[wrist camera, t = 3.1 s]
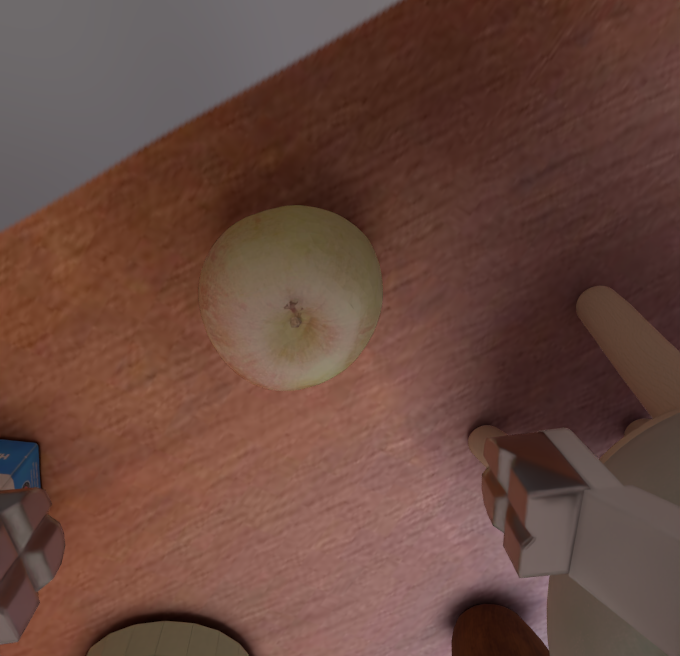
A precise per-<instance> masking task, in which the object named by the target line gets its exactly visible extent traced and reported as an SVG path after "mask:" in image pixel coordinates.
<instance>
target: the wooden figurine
mask: <svg viewBox="0 0 680 656" xmlns="http://www.w3.org/2000/svg"><path fill="white" fill-rule="evenodd" d="M452 656H550V653H549V650H548V649H547V647H546V646H545V645H544V643H543V642H542V640H541V639H540V638H539V637H538V636H537V635H536V634H535V632H534V631H533V630H532V629H531V628H530V627H529V626H528V625H527V624H526V623H525V622H524V621H523V620H522V619H521V618H520V617H519V615H518V614H517V613H515V612H513V611H512V610H510V609H508V608H506V607H503V606H500V605H496V604H481V605H476V606H473V607H472V608H470V609H468V610H466V611H465V612H464V613H463V614H461V615H460V616H459V618H458V620H457V622H456V624H455V627H454V630H453V636H452Z"/></svg>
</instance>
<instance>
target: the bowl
mask: <svg viewBox="0 0 680 656" xmlns="http://www.w3.org/2000/svg"><path fill="white" fill-rule="evenodd" d="M86 656H249V654H248V653H247V652H246V651H245V649H244V648H243V647H242V646H241V645H240V644H239V643H238V642H236V641H235V640H233V639H232V638H230V637H228V636H227V635H225V634H223V633H222V632H220V631H218V630H215V629H212V628H208V627H205V626H202V625H199V624H195V623H186V622H174V621H159V622H151V623H143V624H136V625H132V626H129V627H126V628H124V629H121V630H118V631H115V632H113V633H110V634H108V635H107V636H106V637H104V638H103V639H102V640H100V641H99V642H97V643H96V644H95V645H93V646H92V647H91V648H90V649H89V651H88V653H87V654H86Z"/></svg>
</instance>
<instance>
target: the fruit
mask: <svg viewBox="0 0 680 656" xmlns="http://www.w3.org/2000/svg"><path fill="white" fill-rule="evenodd" d="M198 300H199V306H200V311H201V316H202V320H203V323H204V326H205V329H206V332H207V334H208V336H209V338H210V341H211V343H212V344H213V346H214V348H215V349H216V351H217V352H218V353H219V355H220V356H221V358H222V359H223V361H224V362H225V363H226V364H227V365H228V366H229V367H230V368H231V369H232V370H233V371H234V372H235V373H237V374H238V375H239V376H241V377H242V378H243V379H245V380H247V381H249V382H250V383H252V384H254V385H257V386H259V387H262V388H265V389H268V390H277V391H293V390H301V389H305V388H309V387H312V386H315V385H318V384H321V383H323V382H325V381H327V380H329V379H331V378H333V377H335V376H336V375H338V374H339V373H341V372H342V371H344V370H345V369H346V368H348V367H349V366H350V365H351V364H352V363H353V362H354V361H355V360H356V359H357V358H358V356H359V355H360V353H361V352H362V351H363V349H364V348H365V346H366V345H367V343H368V342H369V340H370V338H371V336H372V334H373V332H374V330H375V328H376V325H377V322H378V319H379V316H380V312H381V307H382V300H383V285H382V276H381V270H380V265H379V262H378V259H377V257H376V254H375V251H374V249H373V247H372V245H371V243H370V241H369V239H368V238H367V237H366V236H365V235H364V234H363V233H362V232H361V231H360V230H359V229H358V228H357V227H356V226H355V225H353V224H352V223H351V222H349V221H348V220H347V219H345V218H343V217H341V216H340V215H338V214H335V213H333V212H331V211H327V210H324V209H320V208H316V207H310V206H303V205H291V206H283V207H278V208H274V209H269V210H265V211H262V212H259V213H257V214H254V215H251V216H248V217H246V218H244V219H242V220H240V221H238V222H237V223H235V224H234V225H232V226H231V227H230V228H228V229H227V230H226V231H225V232H224V233H223V234H222V235H221V236H220V237H219V239H218V240H217V241H216V242H215V244H214V245H213V246H212V248H211V250H210V251H209V253H208V255H207V257H206V259H205V261H204V264H203V267H202V270H201V274H200V278H199V287H198Z"/></svg>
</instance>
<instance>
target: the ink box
mask: <svg viewBox="0 0 680 656" xmlns="http://www.w3.org/2000/svg"><path fill="white" fill-rule="evenodd" d="M38 449H39V447H38V445H37V443H32V442H22V441H12V440H2V439H0V490H10V489H21V488H33V487H38V488H41V487H40V469H39V451H38Z"/></svg>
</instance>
